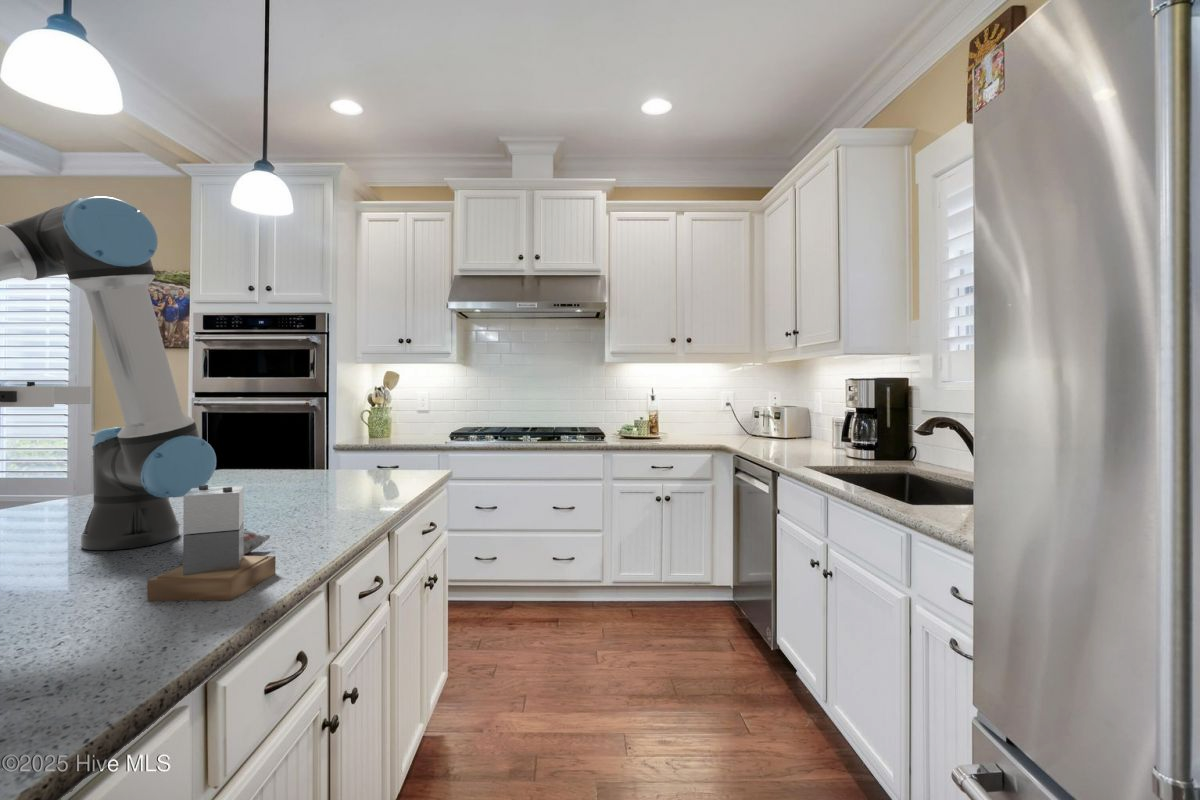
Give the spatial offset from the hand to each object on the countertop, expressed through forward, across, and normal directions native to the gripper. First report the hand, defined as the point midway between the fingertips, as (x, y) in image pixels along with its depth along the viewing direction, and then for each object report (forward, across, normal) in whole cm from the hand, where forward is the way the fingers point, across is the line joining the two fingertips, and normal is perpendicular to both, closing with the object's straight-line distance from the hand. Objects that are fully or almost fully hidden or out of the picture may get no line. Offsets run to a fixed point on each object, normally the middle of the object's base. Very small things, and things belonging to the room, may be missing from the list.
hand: (73, 395), depth 79 cm
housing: (+17, +1, -27) cm, 32 cm away
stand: (+17, +1, -30) cm, 35 cm away
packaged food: (+17, -15, -30) cm, 38 cm away
